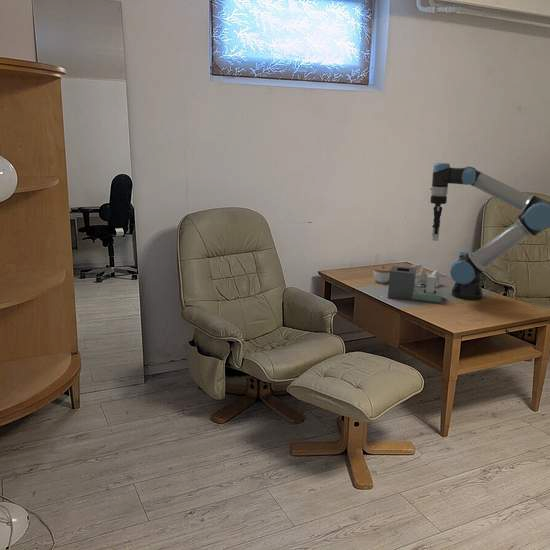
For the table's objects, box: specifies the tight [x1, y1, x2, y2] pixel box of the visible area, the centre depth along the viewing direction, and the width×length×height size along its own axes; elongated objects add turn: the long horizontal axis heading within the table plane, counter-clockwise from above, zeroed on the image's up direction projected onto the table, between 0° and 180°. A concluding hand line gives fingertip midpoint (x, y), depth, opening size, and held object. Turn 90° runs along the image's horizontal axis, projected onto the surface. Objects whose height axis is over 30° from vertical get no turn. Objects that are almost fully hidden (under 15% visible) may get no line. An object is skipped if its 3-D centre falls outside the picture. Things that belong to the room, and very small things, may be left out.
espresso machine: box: [387, 265, 444, 305], centre depth 274 cm, size 26×12×14 cm, turn 71°
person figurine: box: [411, 263, 443, 286], centre depth 296 cm, size 13×13×18 cm
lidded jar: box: [372, 265, 392, 284], centre depth 302 cm, size 11×11×9 cm
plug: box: [425, 275, 437, 294], centre depth 272 cm, size 5×4×11 cm
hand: (435, 238), depth 269 cm, fingers open, 13 cm apart
